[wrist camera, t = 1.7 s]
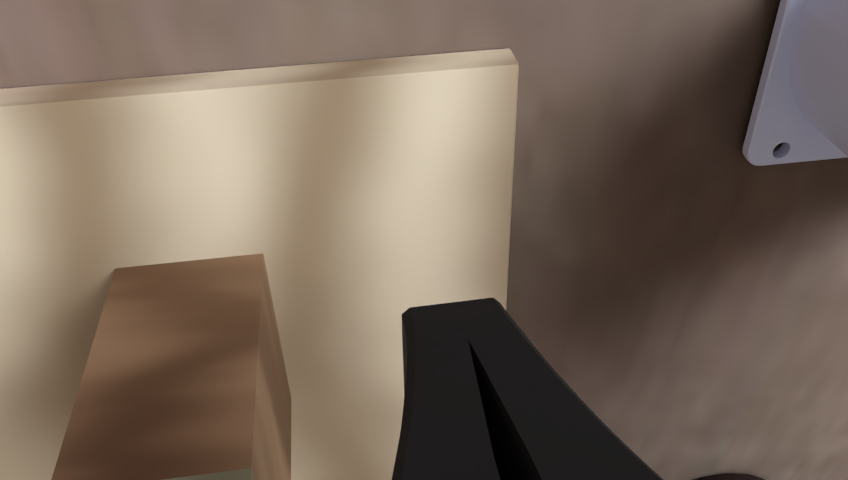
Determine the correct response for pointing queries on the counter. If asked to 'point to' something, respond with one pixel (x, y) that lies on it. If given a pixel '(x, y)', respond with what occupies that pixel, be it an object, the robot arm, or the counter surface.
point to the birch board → (257, 226)
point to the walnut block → (183, 379)
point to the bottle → (733, 477)
